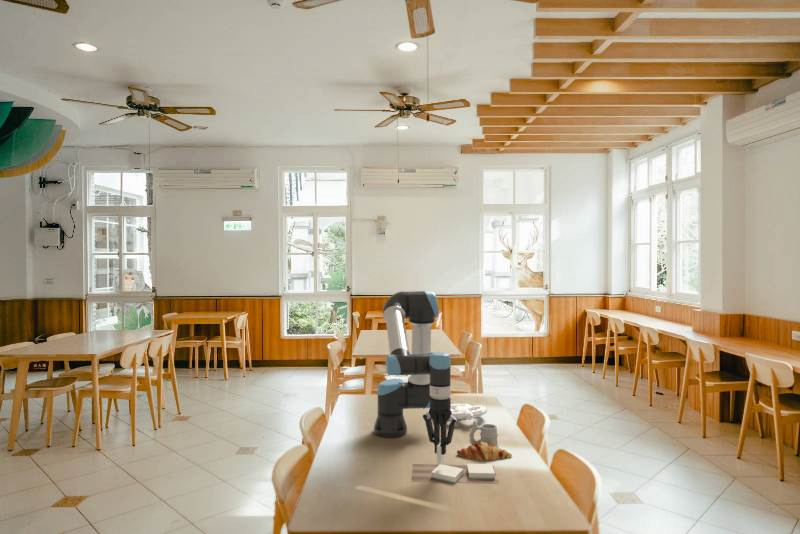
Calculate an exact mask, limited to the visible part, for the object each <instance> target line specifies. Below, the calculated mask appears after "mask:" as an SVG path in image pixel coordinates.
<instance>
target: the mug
mask: <svg viewBox="0 0 800 534" xmlns="http://www.w3.org/2000/svg"><path fill="white" fill-rule="evenodd" d="M472 422H473V424H472V427H471V430H470V433H468V434H469V444H470V445H474V443H476V442H485V443H487V444H488V445H489V446H490V445H491V446H493V445H494V446H495V445H496V446H497V447H498V448H500V446H499V444H498V436H499V434H498V428H497V425H495V424H491V423H484V424H482V425H481V426H478V423H477V422H476V420H473V421H472ZM478 430H479V431H480V432H479V436H480V438H479V439H475V433H476V432H477V431H478Z"/></svg>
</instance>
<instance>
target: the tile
mask: <svg viewBox="0 0 800 534" xmlns="http://www.w3.org/2000/svg"><path fill="white" fill-rule="evenodd" d="M438 465H439V466H438V467H437V468H435V469H434V470H433V471H432V472H431V478H434V479H439V480H443V481H448V482H452V484H457V483H456V482H457V481H458V480H459V479H460V478H461V477H462V476H463V474H464V469H462V468H457V467H452V466H447V465H448V464H444V463H442V464H441V465H440V464H438Z"/></svg>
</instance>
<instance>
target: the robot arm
mask: <svg viewBox="0 0 800 534" xmlns="http://www.w3.org/2000/svg"><path fill="white" fill-rule="evenodd" d="M439 315H440V309H439V302H438V298H437V295H436V293H435V292H433V291H425V290H417V291H415V290H414V291H397V292H396V293H393V294H392V295H391V296H390V297H389V298H388V299H387V300H386V302H385V303H384V305H383V309H382V318H383V320H384V322H385V323H386V331H387V333H386V334H387V338H388V339H387V340H388V347H389V354H388V355H386V357H385V370H386V371H385V372H386V374H387V375H388V376H408V378H407V382H404V380H403V379H401V378H389V379H385V380H383V381H381V382H379V383H378V385H377V392H376V394H377V395H376V396H377V417H376V419H375V423H374V426H373V433H374V434H375V436H378V437H381V438H397V437H402V436H405V435H406V434H407V433H408V426H407V423H406V420H405V417H404V410H409V409H428V410H429V412H428V413H426V412H425V413H424V414H422V418H423V420H424V421H425V422H424V423H425V426H426V430H427V435H428V440H429V442H430V443H433V445H434V453H435V454H436V465H441V464H444V462H445V459H444V457H445V456H444V455H446V453H447V446H448V445H450V444H451V443H452V440H453V437H454V436H453V435H454V431H455V427H456V423H457V421H459V420H458V418H455V417H454V416H452V413H451V410H450V409H451V400H452V399H451V396H452V395H451V394H452V393H451V392H452V391H451V365H452V362H451V354H449V353H448V352H443V351H442V352H441V351H438V352H437V351H436V352H434V351H431V350H432V349H431V347H432V345H431V344H432V326H433V324H434V323H435V320H436V318H438V317H439ZM405 319H408V323H410V324H411V354H410V347H409V341H408V336H407V329H406V324H405ZM449 418H450V419H449ZM448 421H449V425H448ZM447 425H448V426H449V427H448V428H447ZM447 429H448V430H447Z"/></svg>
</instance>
